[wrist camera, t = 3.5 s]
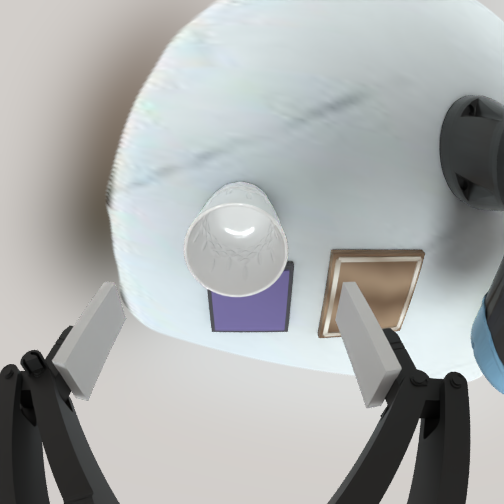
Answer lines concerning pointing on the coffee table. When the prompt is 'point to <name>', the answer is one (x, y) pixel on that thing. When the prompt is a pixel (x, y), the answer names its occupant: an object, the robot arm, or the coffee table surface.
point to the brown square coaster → (372, 284)
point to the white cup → (236, 242)
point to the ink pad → (254, 308)
